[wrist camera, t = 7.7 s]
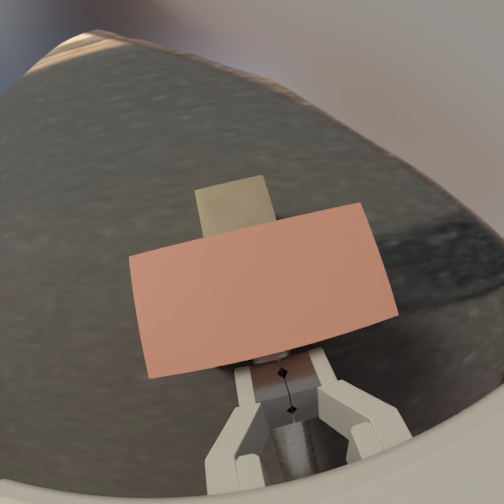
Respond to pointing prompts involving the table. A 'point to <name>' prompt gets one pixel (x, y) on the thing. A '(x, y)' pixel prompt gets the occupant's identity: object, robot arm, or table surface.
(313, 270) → the collar
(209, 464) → the robot arm
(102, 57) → the table surface
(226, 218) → the pipe rig
